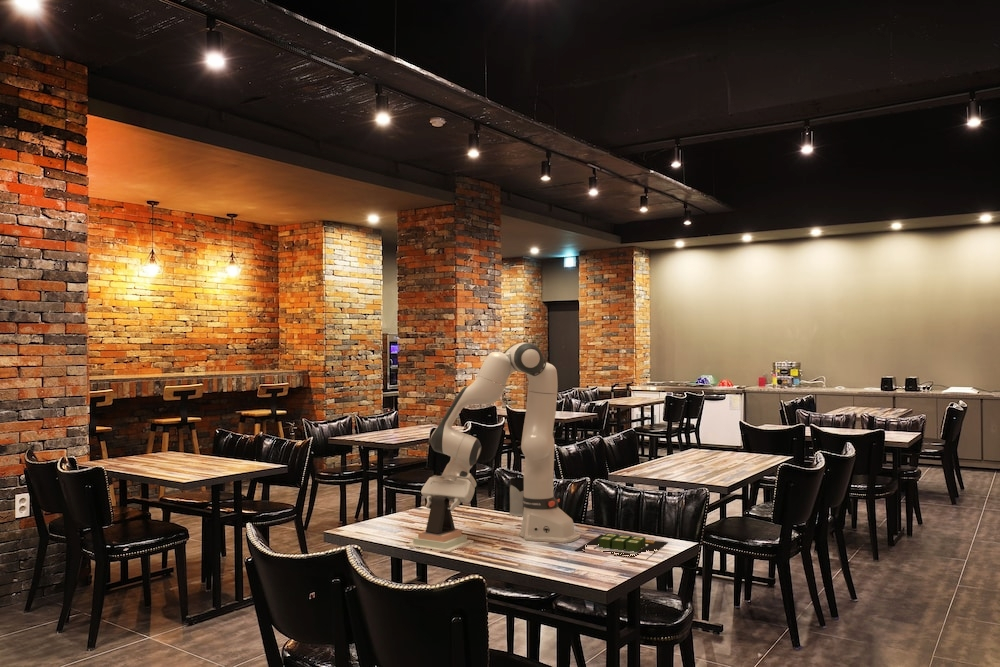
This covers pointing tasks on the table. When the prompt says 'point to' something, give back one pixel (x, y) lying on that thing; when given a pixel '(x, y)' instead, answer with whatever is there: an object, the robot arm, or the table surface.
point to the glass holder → (516, 496)
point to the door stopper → (440, 516)
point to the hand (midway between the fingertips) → (439, 509)
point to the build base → (440, 540)
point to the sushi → (624, 543)
